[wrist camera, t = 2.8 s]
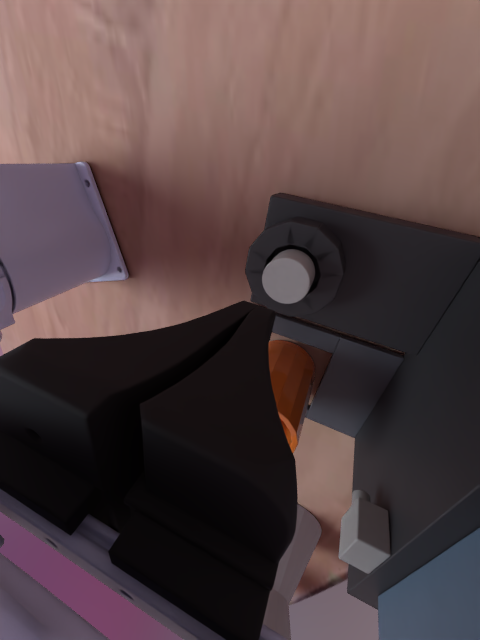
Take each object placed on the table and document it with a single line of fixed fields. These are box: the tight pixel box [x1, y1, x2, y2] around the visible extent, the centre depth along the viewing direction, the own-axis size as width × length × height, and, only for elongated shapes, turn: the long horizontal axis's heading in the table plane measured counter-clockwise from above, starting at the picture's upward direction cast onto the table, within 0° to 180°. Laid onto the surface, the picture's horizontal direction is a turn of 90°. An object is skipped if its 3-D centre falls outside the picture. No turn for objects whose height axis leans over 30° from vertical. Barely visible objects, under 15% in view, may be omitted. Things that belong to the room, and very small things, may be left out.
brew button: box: [262, 249, 315, 304], centre depth 15 cm, size 3×3×2 cm
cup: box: [269, 340, 315, 453], centre depth 21 cm, size 5×5×7 cm
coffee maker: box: [272, 237, 480, 640], centre depth 14 cm, size 17×17×15 cm
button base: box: [245, 193, 480, 356], centre depth 16 cm, size 11×7×4 cm, turn 82°
